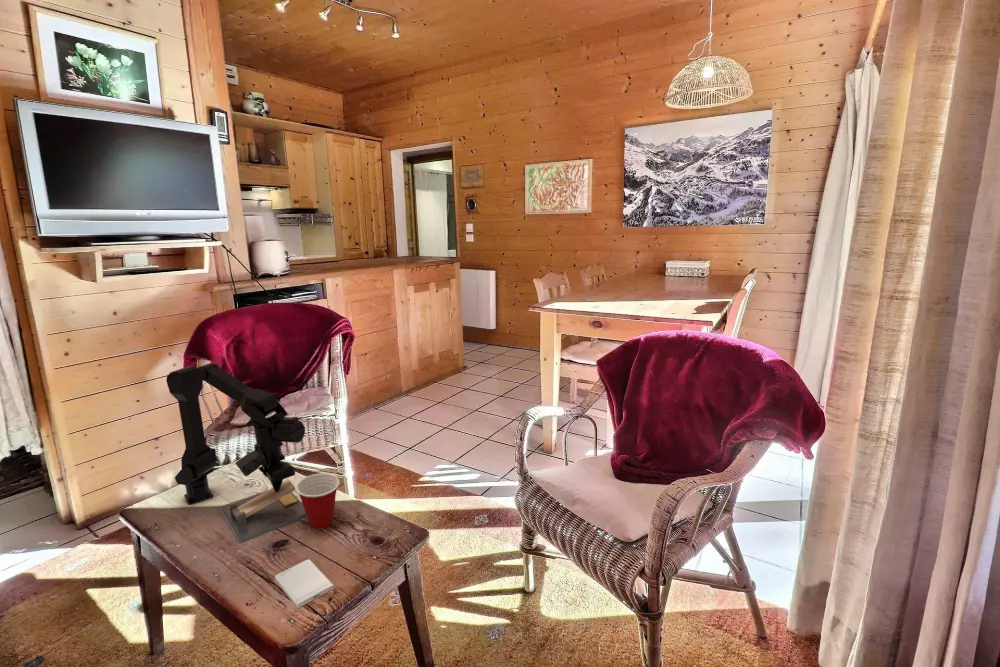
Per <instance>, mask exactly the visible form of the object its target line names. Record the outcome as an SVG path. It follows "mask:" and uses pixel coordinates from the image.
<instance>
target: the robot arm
mask: <svg viewBox="0 0 1000 667" xmlns="http://www.w3.org/2000/svg"><path fill="white" fill-rule="evenodd" d="M204 382H205V383H207V384H209V386H211V387H213V388H215V389H216V390H218V391H219V392H221V393H223V394H224V395H226V396H227V397H229V398H230V399H232V400H233V401H234V402H236V403H237V404H239V406H240V409H241V411H242V412H243V413H244V414H245V415H247V416H248V417H249V418H250V419H249V420H248V422H246V424H245V425H246V426H247V427H248V426H249V427H253V432H254V436H255V441H256V443H255V444H254V445H253V446H254V450H252V451H251V452H249V453H247V454H246V455H244V456H242V457H241V458H239V459H238V460H236V461H235V465H236V467H238V469H239V470H240V472H241V473H242V474H243V475H244V477H247V476H249V475H251V474H252V473H254V472H255V471H257V470H259V471H260V473H262V475H263V476H264V477H265V478H267V479H268V481H269V482H270V484H271V486H272V488H274V490H275V492H277V491H279V490H280V487H281V484H282V482H284V481H283V480H286V479H289V478H291V477H294V476H295V475H296V470H295V469H296V468H295V467H294V466H293V465H292V464H291V463H290V462H287V461H283V460H286V457H285V455H284V454H283V453H282V452H283V451H282V446H284V445H283V443H295V444H298V443H301V442H302V440H303V439H304V437H305V434H306V426H305V425H304V423H303V421H300V420H299V417H298V416H290V417H289V416H288V415H289V413H288V411H286V408H284V406H282V404H281V403H280V402H279V401H278V398H277V397H276V395H274V394H272V393H271V392H268V391H266V390H263V389H260V388H252V387H250V386H249V385H247V384H246V383H244V382H243V381H241V380H239V379H238V378H236V377H235V376H233V375H232V374H230V373H228V372H227V371H226V370H224V369H221V368H220V366H219V365H218V363H216V362H214V363H213V362H209V363H206V364H204V365H200V366H195V365H188V366H185V367H183V368H180V369H176V370H174V371H170V372H169V373H168V374H167V376H166V384H167V388H168V390H169V394H170V395H171V396H172V397H174V399H175V400H177V402H178V408H179V410H178V411H179V413H180V414H179V416H180V422H181V427H182V433H183V439H184V444H185V449H184V452H183V454H182V456H181V469H180V470H179V472H178V473H177V474H176V475H175V476H174V480H175V482H176V484H177V485H183V486H185V487H184V488H185V494H184V495H183V496H184V499H185V501H186V503H187V505H193V504H195V503H199V502H201V501H205V500H207V499H211V498H213V497H214V493H213V492H212V490H211V489H210V487H209V480H208V475H210V474H211V473H213V472H214V469H215V466H216V465H217V461H218V458H217V454H216V453H217V452H216V449H215V448H214V447H212V448H211V447H210V446H209V445H208V444H207V441H206V436H205V430H204V423H203V418H202V417H203V416H202V410H201V405H200V399H199V398H200V394H201V392H202V390H203V387H204ZM271 414H272V415H271ZM269 415H270V416H269Z"/></svg>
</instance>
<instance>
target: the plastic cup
mask: <svg viewBox="0 0 1000 667" xmlns="http://www.w3.org/2000/svg"><path fill="white" fill-rule="evenodd" d="M339 485H340V479H339V478H338V477H337V476H336V475H334V474H332V473H331V474H330V473H325V472H324V473H322V472H321V473H316V474H315V473H313V474H310V475H308V476H305V477H304V478H302V479H300V480H299V481H298V482H297V484H296V485H295V491H296V492H297V493H298V495H299V497H300V500H301V503H302V504H303V506H304V510H305V513H306V516H307V517H306V518H307V520H308V523H309V526H310V527H311V529H314V530H323V529H326V528H328V527H329V526H331V525H332V524H331V523H333V522H332V521H334V515H335V514H334V512H335V505H336V496H337V495H336V494H337V491H338V488H339ZM330 524H331V525H330Z"/></svg>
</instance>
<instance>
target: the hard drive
mask: <svg viewBox="0 0 1000 667" xmlns="http://www.w3.org/2000/svg"><path fill="white" fill-rule="evenodd" d="M274 580H275V581H276V583H277V584H278V585H279V587H280V588H281V589H282V591H283V592H284V593H285V595H286V596H288V598H289V600H290V601H291V602H292V603H293V605H294V606H296V608H297V609H299V608H301V607H304V605H308V604H309V603H310V602H313V601H314V600H316V599H318V598H320V597H321V596H323V595H325V594H327V593H329V592H331V591H332V590H335V585H334V584H333V582H331V580H329V578H327V576H326V575H325V574H324V573H323V572H322V571H321V570H320V569H319V567H317V565H315V564H314V562H313V561H312V560H311V559H305V560H303V561H301V562H300V563H298V564H296V565H293V566H291V567H290V568H287V569H286V570H283V571H282V572H279V573H277V574H276V575H275V576H274Z"/></svg>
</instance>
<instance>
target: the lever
mask: <svg viewBox="0 0 1000 667" xmlns="http://www.w3.org/2000/svg"><path fill="white" fill-rule="evenodd" d="M265 491H266V492H265ZM265 491H263V492H264V493H263V494H261V495H259V496H257V497H255V498H254V499H252V500H250V501H248V502H246V503H245V504H243V505H241V506H239V507H238V508H234V509H233V510H232V513H233V515H234V516H235V518H236V514H237V513H240V512H242V511H244V512H245V515H246V517H248V516H250V515H252V514H253V513H255V512H257V511H259V510H260V509H262V508H264V507H266V506H267V505H269V504H271V503H273V502H274V501H276V500H278V499H280V498H281V497H283V496H285V495H286V494H288V493H290V492H292V493H293V491H296V486H295V485H294V484H293V482H291V481H290V480H289V479H285V480H284V481H282V484H281V487H280V490H279V491H277V492H275V490H274V488H273V487H271V488H270V489H268V491H267V490H265ZM236 520H237V519H236Z"/></svg>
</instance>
